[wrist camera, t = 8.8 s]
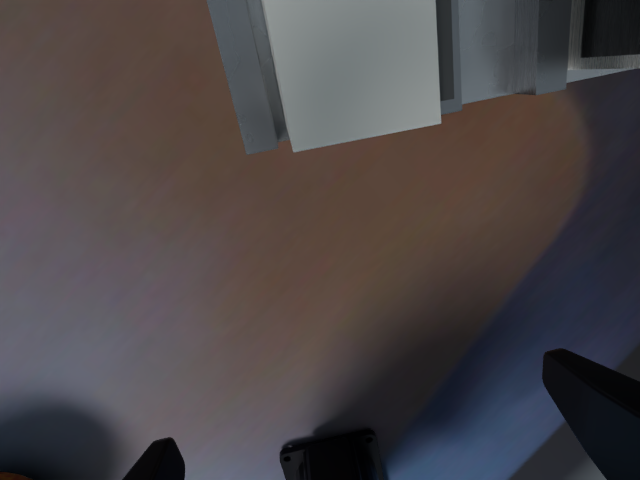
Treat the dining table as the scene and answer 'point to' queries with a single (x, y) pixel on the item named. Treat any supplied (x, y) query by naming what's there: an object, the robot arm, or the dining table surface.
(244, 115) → the rail
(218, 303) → the dining table surface
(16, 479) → the fruit
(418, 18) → the matte gray box
